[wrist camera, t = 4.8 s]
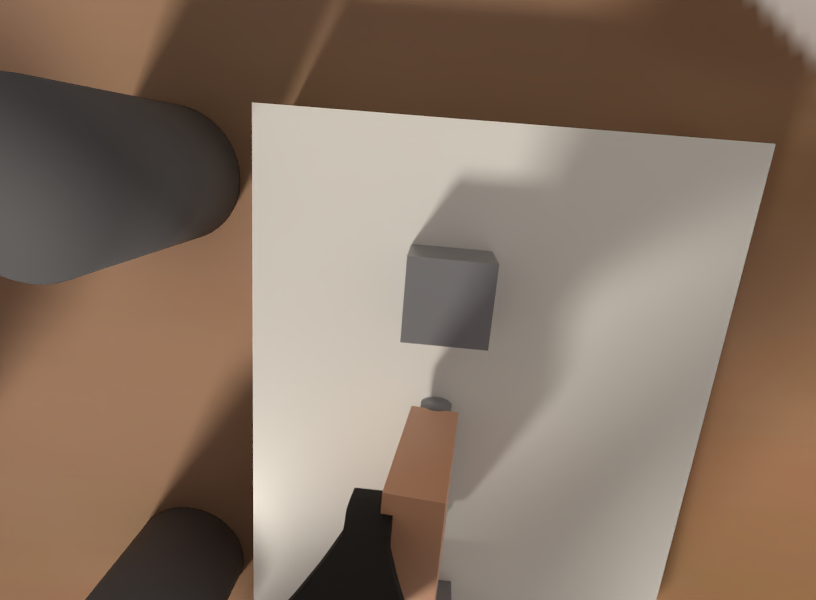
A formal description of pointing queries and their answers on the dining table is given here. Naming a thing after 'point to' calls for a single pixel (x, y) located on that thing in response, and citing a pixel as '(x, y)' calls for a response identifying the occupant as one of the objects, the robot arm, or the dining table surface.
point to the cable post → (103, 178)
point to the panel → (490, 335)
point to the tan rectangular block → (421, 496)
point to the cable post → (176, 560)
